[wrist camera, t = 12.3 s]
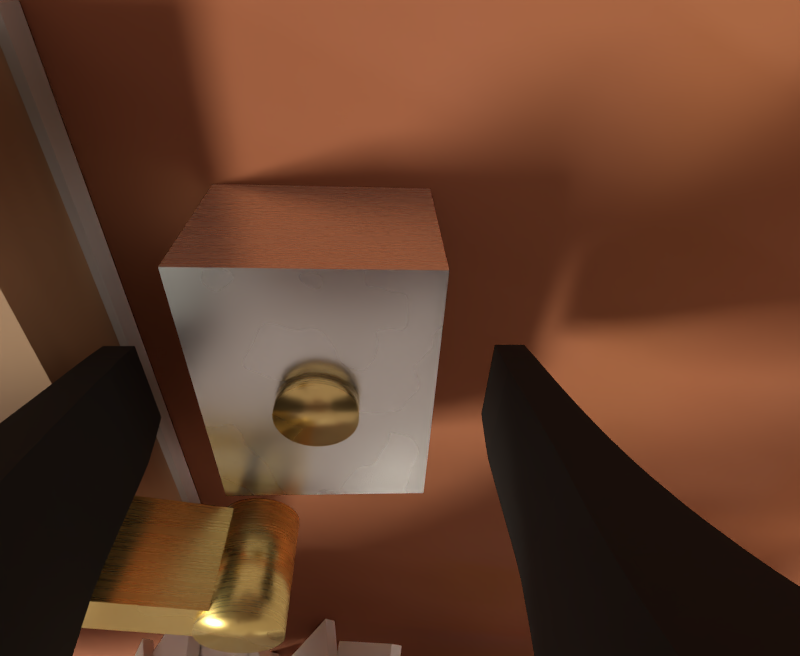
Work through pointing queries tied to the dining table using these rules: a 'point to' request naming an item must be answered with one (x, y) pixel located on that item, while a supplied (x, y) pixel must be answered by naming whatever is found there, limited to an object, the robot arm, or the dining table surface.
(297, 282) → the white block with knob
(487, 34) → the dining table surface
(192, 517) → the lever
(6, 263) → the tan flat board
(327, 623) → the spiral staircase
